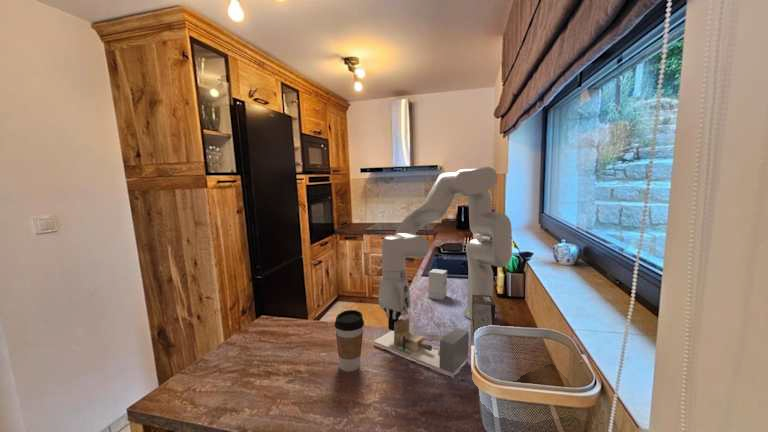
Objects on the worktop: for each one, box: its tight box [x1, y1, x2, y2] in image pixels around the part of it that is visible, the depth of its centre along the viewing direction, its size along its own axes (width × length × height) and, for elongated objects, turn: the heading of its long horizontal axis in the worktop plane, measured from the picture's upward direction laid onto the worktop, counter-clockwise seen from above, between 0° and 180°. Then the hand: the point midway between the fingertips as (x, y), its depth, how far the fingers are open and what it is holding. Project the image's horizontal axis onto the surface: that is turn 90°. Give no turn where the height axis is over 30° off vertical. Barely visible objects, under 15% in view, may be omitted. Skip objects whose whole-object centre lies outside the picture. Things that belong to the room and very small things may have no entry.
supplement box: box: [427, 268, 448, 301], centre depth 144 cm, size 7×7×13 cm
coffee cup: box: [334, 309, 365, 372], centre depth 87 cm, size 8×8×15 cm
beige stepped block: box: [394, 316, 433, 352], centre depth 94 cm, size 12×7×7 cm, turn 51°
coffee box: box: [470, 295, 496, 343], centre depth 97 cm, size 9×6×16 cm
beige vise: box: [373, 327, 470, 376], centre depth 94 cm, size 28×10×10 cm, turn 51°
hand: (393, 328), depth 100 cm, fingers closed
